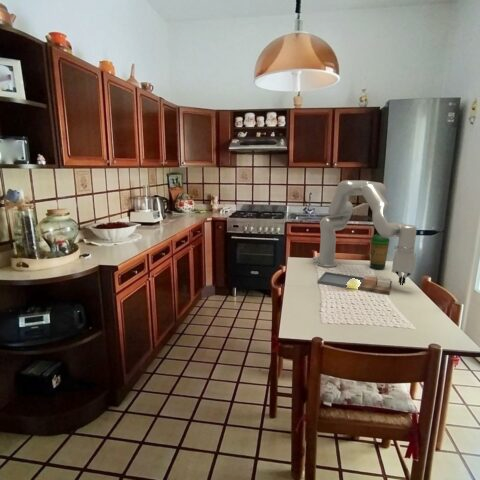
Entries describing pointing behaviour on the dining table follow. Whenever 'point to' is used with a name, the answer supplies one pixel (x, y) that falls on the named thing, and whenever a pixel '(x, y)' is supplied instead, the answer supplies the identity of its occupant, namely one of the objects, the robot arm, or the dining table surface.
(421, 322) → the dining table surface
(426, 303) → the dining table surface
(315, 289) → the dining table surface
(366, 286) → the walnut board
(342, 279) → the box
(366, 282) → the terracotta tile
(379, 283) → the cream tile
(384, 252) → the bottle
